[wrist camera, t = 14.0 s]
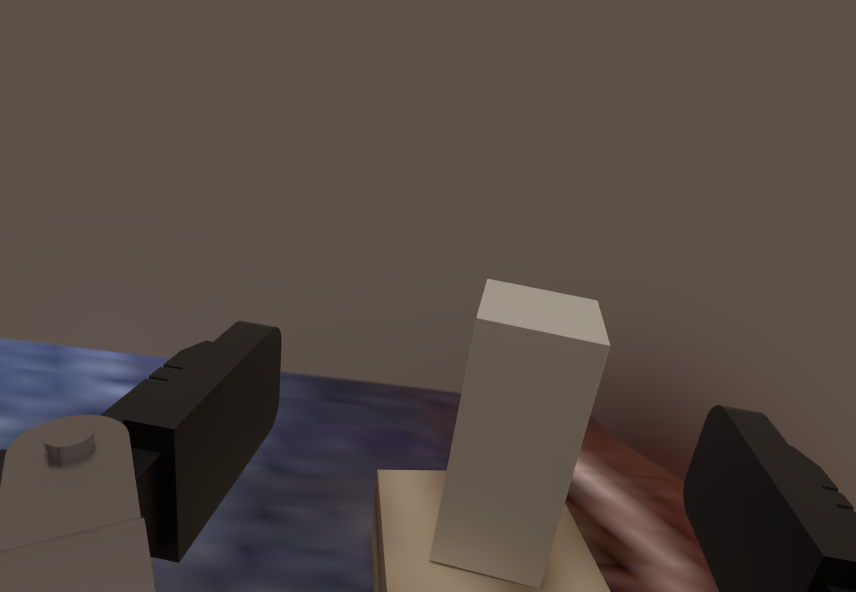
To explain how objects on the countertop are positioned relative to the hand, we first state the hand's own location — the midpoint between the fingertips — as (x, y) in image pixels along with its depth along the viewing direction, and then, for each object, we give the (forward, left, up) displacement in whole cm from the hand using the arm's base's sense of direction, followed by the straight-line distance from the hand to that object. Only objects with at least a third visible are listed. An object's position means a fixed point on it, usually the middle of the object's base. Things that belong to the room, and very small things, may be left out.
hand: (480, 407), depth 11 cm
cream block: (-8, +11, -14) cm, 20 cm away
